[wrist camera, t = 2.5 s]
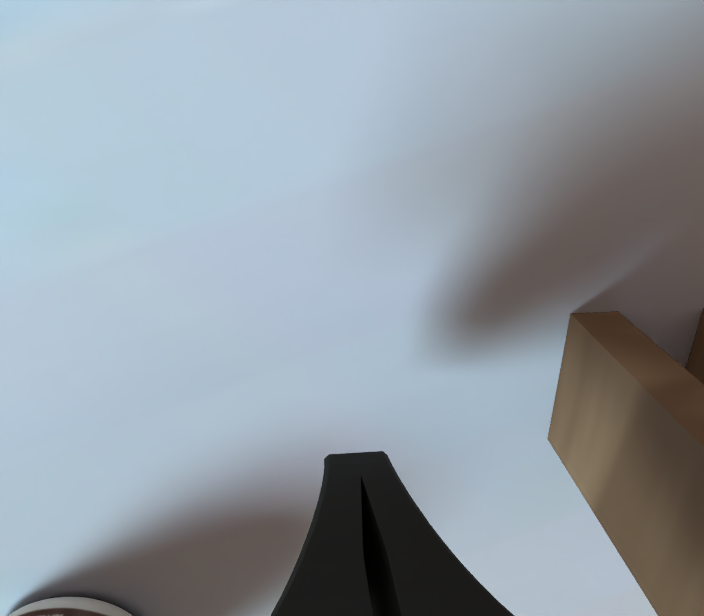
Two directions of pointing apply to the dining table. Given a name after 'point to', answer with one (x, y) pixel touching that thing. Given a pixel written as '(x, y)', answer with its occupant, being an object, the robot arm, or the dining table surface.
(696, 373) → the domino
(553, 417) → the domino
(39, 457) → the dining table surface
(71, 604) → the supplement bottle
